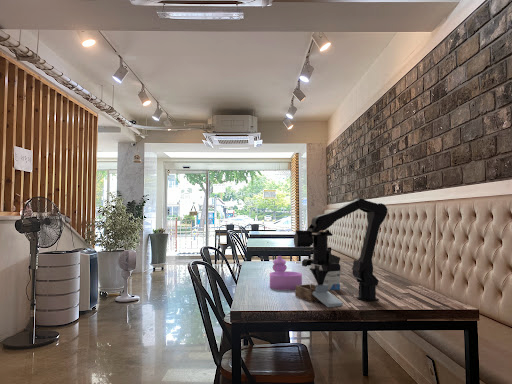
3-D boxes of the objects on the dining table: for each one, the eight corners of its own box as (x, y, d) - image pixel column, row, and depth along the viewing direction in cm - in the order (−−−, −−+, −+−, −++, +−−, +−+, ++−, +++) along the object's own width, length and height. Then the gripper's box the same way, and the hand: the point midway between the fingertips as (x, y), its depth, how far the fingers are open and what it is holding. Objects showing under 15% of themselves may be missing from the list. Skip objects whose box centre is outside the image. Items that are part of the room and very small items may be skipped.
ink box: (338, 288, 177) (338, 262, 178) (340, 290, 172) (339, 264, 173) (320, 287, 178) (320, 262, 179) (321, 289, 173) (320, 263, 174)
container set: (305, 289, 173) (305, 260, 174) (273, 290, 171) (273, 261, 172) (292, 280, 198) (292, 255, 199) (263, 281, 196) (263, 255, 197)
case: (328, 299, 152) (328, 288, 152) (311, 301, 148) (311, 290, 148) (311, 294, 162) (311, 284, 163) (295, 296, 159) (295, 285, 159)
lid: (342, 305, 142) (344, 295, 141) (327, 307, 139) (329, 297, 138) (326, 293, 151) (327, 283, 150) (312, 294, 148) (314, 285, 148)
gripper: (351, 248, 146) (352, 289, 145) (323, 244, 163) (323, 281, 162) (327, 249, 141) (328, 291, 140) (301, 245, 158) (301, 283, 157)
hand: (320, 286), depth 150 cm, fingers closed
